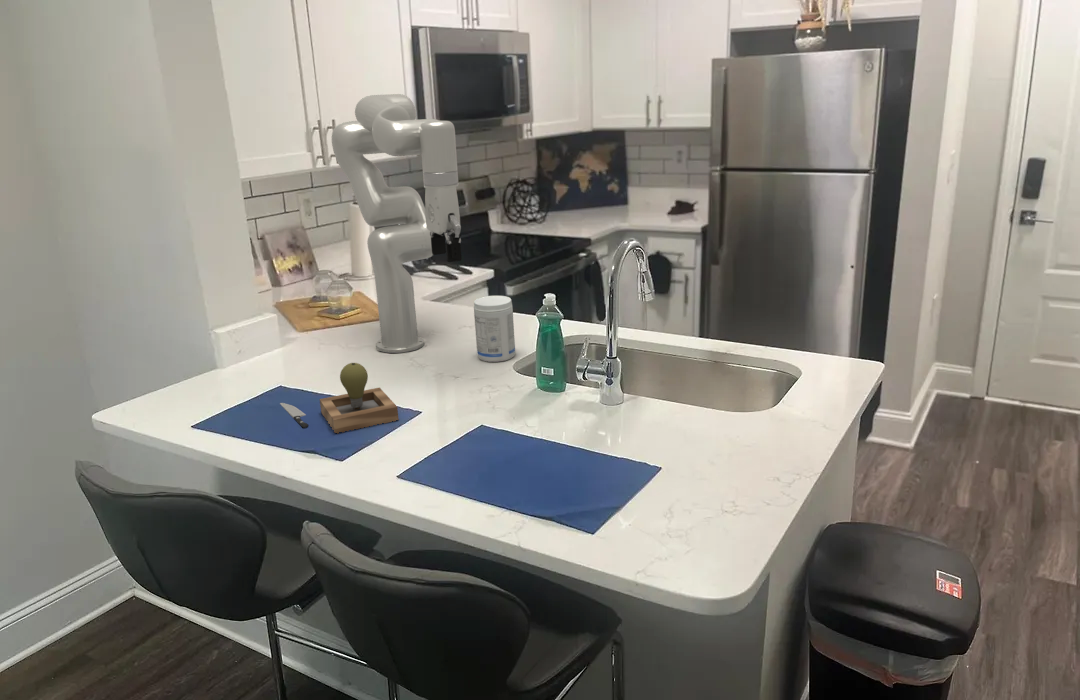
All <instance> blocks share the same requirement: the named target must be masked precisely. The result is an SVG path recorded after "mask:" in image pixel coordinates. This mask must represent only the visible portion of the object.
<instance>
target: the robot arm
mask: <svg viewBox="0 0 1080 700" xmlns="http://www.w3.org/2000/svg"><path fill="white" fill-rule="evenodd" d="M354 109H355V110H354V115H355V119H356V120H351V121H345V122H342V123H339V124H337V125H336V126H335V127H334V128H333V130H332V133H331V147H332V151H333V155H334V157H335V159H336V161H337V163H338V165H339V168H340V169H341V170H342V172H343V173H344V175H345V176H346V178H347V179H348V182H349V183H350V185H351V186H350V187H351V189H352V191H353V194H354V197H355V200H356V203H357V205H358V208H359V211H360V213H361V215H362V218H363V219H364V221H365V223H366V224H367V225H369V226H370V227H379V228H376V229H374V230H373V231H372V232H371V233H370V234H369V235H368V237H367V241H366V242H367V249H368V254H369V257H370V261H371V264H372V269H373V274H374V275H373V276H374V282H375V291H376V293H375V294H376V300H377V301H376V302H377V311H378V312H377V313H378V321H379V322H378V323H379V331H380V339H379V340H378V341H376V343H375V348H376V350H377V351H379V352H382V353H390V354H396V353H397V354H399V353H406V352H412V351H416V350H419V349H421V348H423V346H424V345H425V340H424V338H423V337H421V336H419V335H418V334H419V333H418V324H417V323H418V322H417V313H416V311H417V310H416V303H415V302H416V300H415V291H414V281H413V278H412V277H413V276H411V273H409V272H408V270H407V269H406V268H405V267H404V266H403V264H404V263H409V262H415V261H419V260H420V261H421V260H426V259H429V258H431V257H433V256H437V255H445V254H446V261H447V262H448V263H456V262H461V261H462V260H463V259H462V245H461V244H462V243H461V242H462V239H461V236H462V234H461V229H462V225H461V216H460V206H459V199H458V193H457V187H459V184H460V183H459V175H458V174H459V173H458V172H459V171H458V159H457V158H458V157H457V141H456V140H457V139H456V130H455V125H454V123H453V122H451V121H450V120H439V119H436V118H424V119H421V118H420V119H417V118H416V117H417V111H416V106H415V104H414V102H413V100H412V99H411V98H410V97H409V96H407V95H405V94H401V93H397V94H395V93H394V94H371V95H367V96H364V97H362V98H361V99H360V100H359V101H358V102H357V103H356V105H355V108H354ZM373 154H374V155H375V154H387V155H389V156H392V157H408V156H420V155H421V164H422V165H421V166H422V167H421V168H422V177H423V178H422V179H423V188H424V190H425V191H424V193H425V194H424V202H423V200H422V197H421V195H420V194H419V192H418V191H417V190H416V189H415V188H413V187H411V186H407V185H406V186H404V185H403V186H394V187H393V186H392V187H391V186H388V184H387V183H386V180H385V179H384V175H383V173H382V171H381V170H380V169H379V168H378V167H377V166H376V164H375V163H373V162H372V161H371V160H369V159H368V158H366V157H365V156H364V155H373Z"/></svg>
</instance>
